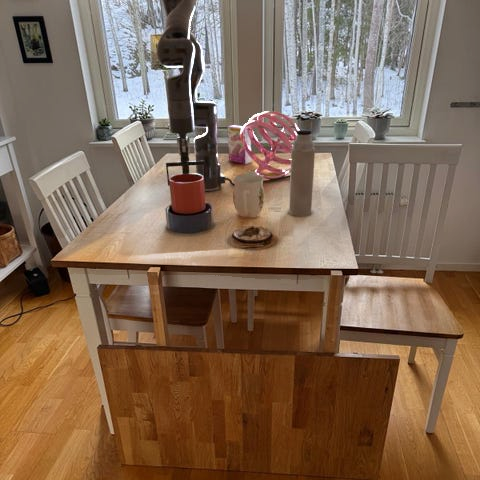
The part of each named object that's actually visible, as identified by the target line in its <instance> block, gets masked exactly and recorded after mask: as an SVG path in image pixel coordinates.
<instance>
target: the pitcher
mask: <svg viewBox="0 0 480 480" xmlns="http://www.w3.org/2000/svg"><path fill="white" fill-rule="evenodd" d="M255 171H256V170H247V171H245V172H244V173H241V174H238V175H235V176H234V177H233V183H234V184H235V186H234V188H233V193H232V200H233V205H234V208H235V210H236V212H237V214H238V215H239V216H240V217H242V218H243V217H244V218H251V219H254V218H258V217H259V215H260V214H261V212H262V211H263V207H264V203H265V189H264V186H263V180H264V178H263V176H261V175H262V174H261V175H259V174H257V173H256V172H255Z"/></svg>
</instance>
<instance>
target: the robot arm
mask: <svg viewBox="0 0 480 480" xmlns="http://www.w3.org/2000/svg"><path fill="white" fill-rule="evenodd" d="M161 1H162V5H163V9H164V13H165V15H166V20H165V27H164V32H163V33H162V35H161V36H160V38H159V40H158V42H157V45H156V58H157V61H158V62H159V64H160V65H161V66H163V67H166V68H178V71H179V73H178V74H176V75H172V76H169V77H167V78H166V82H165V84H166V94H167V114H168V123H169V131H170V133H171V134H175V135H176V134H178V137H176V145H177V149H178V155H179V156H180V162H181V163H182V166H181V171H182V174H189V173H190V166H189V162H190V157H189V156H190V154H191V150H190V148H191V147H190V145H191V141H190V136H187V135H188V134H192V133H194V132H195V130H196V129H195V128H201V129H203V128H204V129H205V128H206V132H205V133H203V134H202V135H198V136H196V137H195V138H194V140H193V144H194V157H195V158H194V159H195V160H194V161H204V163H205V179H206V184H204V186H205V192H214V191H218V190H220V189H222V185H223V184H226V181H227V182H229V183H230V185H231V186H233V187H235V184H234V182H233V181H232V179H230V178H229V177H226V175H224V174H222V172H221V171H222V170H221V165H220V164H219V151H218V150H219V149H218V147H219V146H218V107H217V104H216V103H215V102H214V101H198V100H197V89H198V86H199V85H200V82H201V80H202V77H203V75H204V72H205V60H204V56H203V50H202V46H201V45H200V43H199V42H198V40H197V39H196V38H195V36H194V35H193V34H192V33H191V32H190V28H191V27H190V26H191V21H192V19H193V18H192V17H193V15H194V12H195V9H196V5H197V0H161ZM195 169H196V170H195V172H196V173H195V174H200V175H203V176H204V174H203V165H195ZM288 178H289V179H290V174H287V175H286V176H284V177H280V178H275V179H263V183H264V184H265V183H271V182H275V181H280V180H284V179H288Z"/></svg>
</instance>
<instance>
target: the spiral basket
mask: <svg viewBox="0 0 480 480" xmlns="http://www.w3.org/2000/svg"><path fill="white" fill-rule="evenodd" d="M279 117H281V118H279ZM282 118H283V119H284V120H285V121H287V122H288V123H289V124H290V125H291V126H292V127H293V128H292V127H291V126H290V125H289V124H288V123H287V122H285V121H284V120H283V119H282ZM254 119H257V120H254ZM263 119H268V123H266V122H265V121H263ZM276 123H277V124H278V125H280V126H281V127H283V128H282V130H280V129H279V128H278V126H277V124H276ZM253 127H257V129H258V131H259V133H260V135H261V136H262V138H263V139H264V140H265V141H266V143H268V144H269V145H270V146H271V149H270V150H268V149H266V148H265V147H264V146H263V145H262V144H261V143H260V142H259V140H258V138H257V137H256V135H255V134H254V133H255V132H254V131H253ZM245 128H247V132H248V135H249V138H250V140H251V144H253V146H254V147H255V148H256V149H257V150H258V151H259V153H260V154H262V156H264V159H263V160H262V159H261V158H259V157H258V156H257V155H256V154H255V153H254V152H253V150H252V149H251V150H250V148H249V147H248V145H247V143H246V141H245V138H244V129H245ZM285 130H286V131H287V132H288V133H289V134H287V133H286V132H285ZM298 130H300V129H299V127H298V126H297V124H296V123H295V121H294V120H293V119H292V118H291V117H290V116H288V115H286V114H285V113H281V112H278V111H275V110H266V111H263V112H261V113H257V114H254V115H253V116H252V117H251V118H249V120H248V122H247V123H245V124H244V125H243V128H242V130H241V133H240V139H241V143H242V145H243V147H244V149H245V151H246V152H247V154H248V155H249V156H250V157H251V160H253V162H255V163H256V164H257V165H258V167H257V169H256V170H254V171H255V172H256V173H257V174H259V175H261V176H263V179H264V180H270V179H275V178H280V177H284V176H288V175H290V172H291V159H287V158H282V157H279V156H277V155H276V152H277V151H279V152H281V153H285V154H291V148H292V147H293V146H294V145H293V142H294V141H295V140H296V136H297V131H298ZM268 132H269V133H271V134H273V135H274V136H276V138H277V139H276V140H275V139H274V138H272V137H271V135H270V134H269V133H268ZM292 141H293V142H292ZM281 142H282V143H283V144H284V145H282V143H281ZM271 162H273V163H276V164H279V165H284V166H290V167H289V168H288V169H282V168H281V169H280V168H277V167H274V166H272V165H270V163H271ZM263 171H268V172H272V173H274V174H278V176H266V175H265V174H261V173H262V172H263Z"/></svg>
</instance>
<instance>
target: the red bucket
mask: <svg viewBox="0 0 480 480" xmlns="http://www.w3.org/2000/svg"><path fill="white" fill-rule="evenodd" d="M196 165H203V174H204V176H203V175H200V174H196V173H195V172H189V174H183V173H177V174H174V175H171V176H170V175H169V167H170V168H172V167H182V163H181V161H176V162H175V161H174V162H165V169H166V178H167V186H168V187H169V193H170V203H171V204H172V210H173V211H174V212H177V213H181V214H192V213H197V212H201V211H203V210H204V209H205V208H206V203H207V202H206V191H205V186H204V184H206V179H205V163H204V161H196V160H194V161H193V160H192V161H189V167H190V166H196ZM171 204H170V205H171Z"/></svg>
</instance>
